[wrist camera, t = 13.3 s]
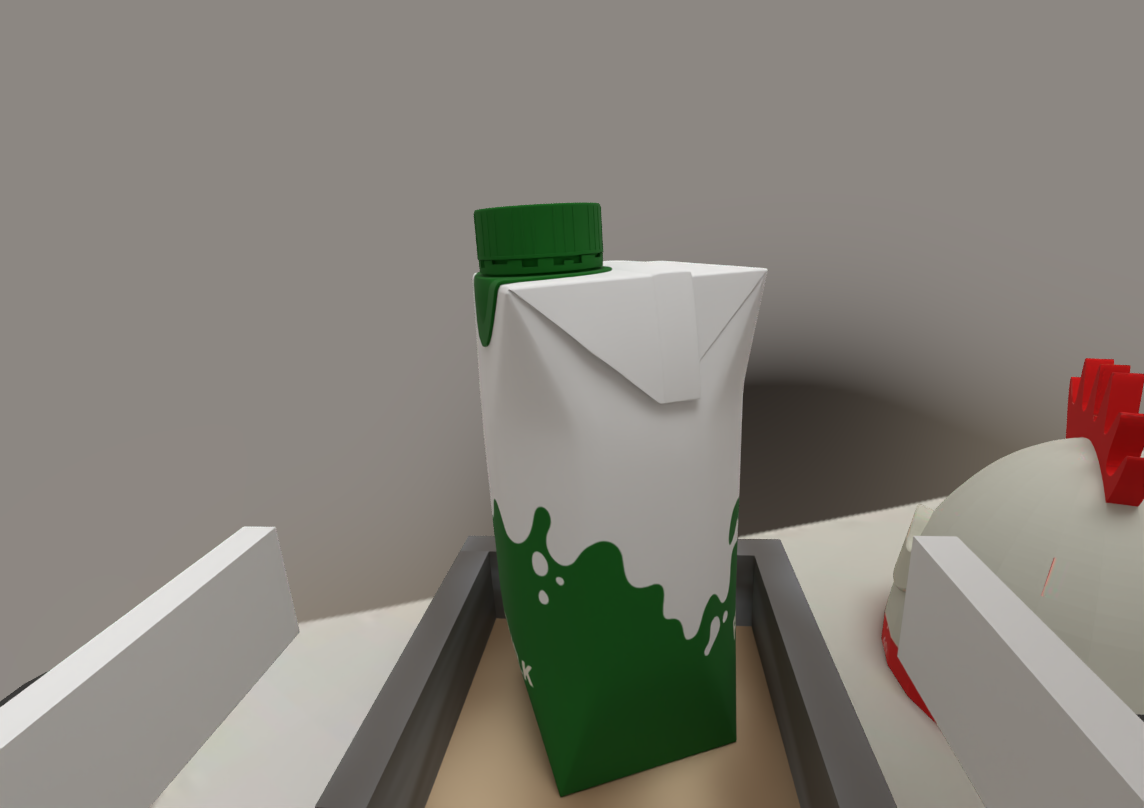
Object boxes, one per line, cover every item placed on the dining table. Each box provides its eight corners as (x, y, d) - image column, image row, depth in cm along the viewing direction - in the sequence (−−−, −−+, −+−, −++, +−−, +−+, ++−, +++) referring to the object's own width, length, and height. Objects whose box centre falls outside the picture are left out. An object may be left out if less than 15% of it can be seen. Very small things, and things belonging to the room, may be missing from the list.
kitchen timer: (1191, 630, 29) (1279, 341, 25) (1388, 904, 18) (1616, 453, 13) (882, 570, 36) (910, 332, 31) (879, 741, 24) (922, 402, 20)
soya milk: (499, 656, 27) (449, 216, 21) (672, 614, 29) (670, 205, 24) (541, 832, 19) (480, 201, 13) (775, 755, 21) (810, 187, 16)
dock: (774, 640, 30) (780, 539, 28) (892, 1011, 16) (917, 854, 14) (480, 630, 32) (468, 535, 30) (350, 950, 18) (315, 806, 16)
